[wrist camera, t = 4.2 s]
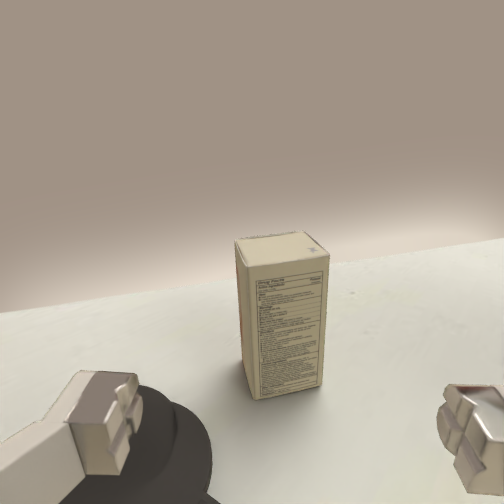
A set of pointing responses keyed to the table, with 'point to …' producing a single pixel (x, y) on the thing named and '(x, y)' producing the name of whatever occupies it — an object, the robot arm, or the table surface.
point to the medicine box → (282, 311)
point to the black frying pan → (156, 461)
